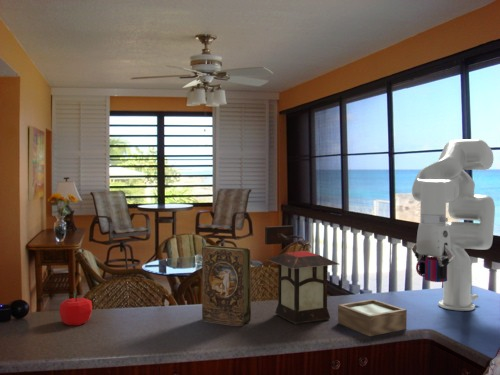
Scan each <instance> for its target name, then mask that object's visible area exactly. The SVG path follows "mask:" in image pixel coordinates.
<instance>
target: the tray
mask: <svg viewBox="0 0 500 375" xmlns="http://www.w3.org/2000/svg"><path fill="white" fill-rule="evenodd" d="M407 312H408V311H407V309H405V308H403V307H398V306H396V305H394V304H390V303H387V302H383V301H380V300H378V299H366V300H359V301H354V302H347V303H341V304H338V305H337V324H338V325H342V326H343V327H345V328H348V329H351V330H353V331H355V332H357V333H361V334H363V335H365V336H368V337H373V336H378V335H383V334H388V333H394V332H399V331H403V330H406V329H407V322H408V320H407V317H408V316H407V314H408V313H407Z"/></svg>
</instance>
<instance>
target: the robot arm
mask: <svg viewBox="0 0 500 375" xmlns="http://www.w3.org/2000/svg"><path fill="white" fill-rule="evenodd" d="M493 163H494V152H493V150H492V148H491V147H490V146H489V145H488V143H487V142H486V141H484V140H482V139H478V138H476V139H475V138H474V139H473V138H472V139H471V138H470V139H468V138H467V139H454V140H449V141H448V142H447V143H445V145H444V147H443V149H442V151H441V152H440V156H439V158H438V160H437V161H434V162H433V163H431V164H429V165H427V166H425V167H423V168H421V170H420V171H419V172H418V173H417V174H416V177H415V179H414V181H413V184H412V187H411V195H412V197H413V199H414V200H415V201H416V202H420V215H419V216H420V218H419V219H420V221H419V223H418V228H417V235H416V244H415V245H414V246H412V248H411V250H412V252H413V254H414V257H416V261H417V262H418V261H425V258H426V257H437V260H438V263H439V265H440V266H438V279H445V278H446V266H447V281H446V282H442V300H439V301H438V307H440V308H442V309H447V310H451V311H458V312H459V311H460V312H464V311H465V312H466V311H467V312H468V311H473V310H475V308H476V304H474V303H473V301H475V300H478V299H479V295H478V294H471V293H472V292H471V291H472V290H471V288H472V287H471V284H472V260H471V257H470V256H469V254H468V252H467V251H466V249H469V250H470V249H471V250H480V251H481V250H490V248H491V247H492V245H493V238H494V230H495V228H494V227H495V214H496V209H495V208H496V206H495V201H494V199H493V197H491V196H490V195H487V194H486V195H485V194H475V189H476V188H475V186H476V184H475V181H474V179H473V178H472V176H470V174H469V173H468V172H466V171H467V170H468V171H470V170H472V171H475V170H476V171H483V170H484V171H487V170H489V169H491V167H492V166H493ZM465 170H466V171H465ZM447 204H448V214H449V216H450V218H452V219H454V220H461V221H449V219H448V218H449V217H447V215H446V214H447ZM462 220H463V221H462ZM448 221H449V222H448ZM465 221H466V222H465ZM467 221H475V222H467ZM476 221H478V222H476ZM442 259H443V261H442ZM418 269H419V272H420V274H422V275H425V263H424V262H421V263H420V264H419V267H418Z"/></svg>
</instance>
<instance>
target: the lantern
mask: <svg viewBox="0 0 500 375" xmlns="http://www.w3.org/2000/svg"><path fill="white" fill-rule="evenodd" d="M294 239H297V240H296V242H295V246H294V250H293V251H291V252H284V253H282V254H278V255H277V256H273V257H270V258H267V259H266V261H268V262H271V263H275V264H276V265H278V268H277V270H278V271H277V272H278V278H277V279H278V280H277V281H278V283H277V285H278V290H277V291H278V295H277V296H278V302H277V303H278V304H277V307H276V310H275V312H274V313H275V314H276V315H277V316H279V317H281V318H282V319H284V320H286V321H288V322H289V323H290V322H291V323H292V324H293V325H303V324H307V323H308V324H309V323H315V322H316V323H317V322H323V321H329V320H330V319H331V316H330V313H329V310H328V266H337V265H338V266H339V265H340V263H338V262H336V261H334V260H332V259H330V258H326V257H325V256H322V255H320V254H318V253H313V252H310V251H309V249H308V246H307V243H306V241H305V239H304V238H303V237H302V236H299V235H294V225H277V226H276V225H274V226H264V244H265V245H268V246H269V245H282V244H294ZM299 239H302V240H303V241H304V244H305V248H306V249H307V250H306V251H305V250H300V251H296V247H297V243H298V240H299Z"/></svg>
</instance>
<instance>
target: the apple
mask: <svg viewBox="0 0 500 375" xmlns="http://www.w3.org/2000/svg"><path fill="white" fill-rule="evenodd" d="M77 296H78V293H76V292H73V297H74V298H67V299H64V301H62V302H61V303H60V305H59V315H60V319H61V322H62V323H64V324H65V325H68V326H81V325H85V324H86V322H88V321H89V320H90V318H91V316H92V311H93V303H92V300H90V299H88V298H85V297H77Z"/></svg>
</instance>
